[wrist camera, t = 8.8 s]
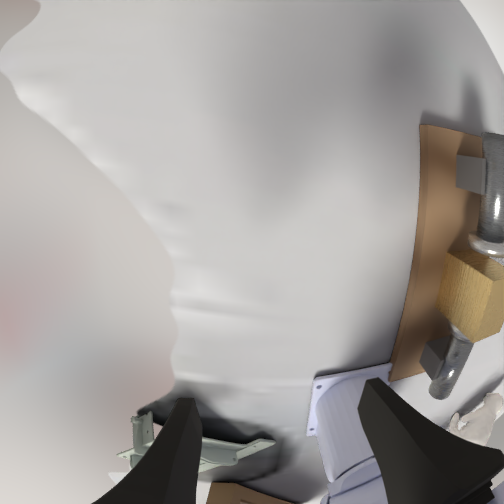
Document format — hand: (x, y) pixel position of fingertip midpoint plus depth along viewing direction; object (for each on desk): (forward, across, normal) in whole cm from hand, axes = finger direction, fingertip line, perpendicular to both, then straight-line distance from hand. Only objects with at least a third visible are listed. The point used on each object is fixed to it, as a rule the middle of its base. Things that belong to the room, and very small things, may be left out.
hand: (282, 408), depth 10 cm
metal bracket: (+10, +9, +18) cm, 23 cm away
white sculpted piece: (+10, -33, +26) cm, 43 cm away
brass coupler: (+8, -16, 0) cm, 18 cm away
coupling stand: (+9, -16, -1) cm, 19 cm away
